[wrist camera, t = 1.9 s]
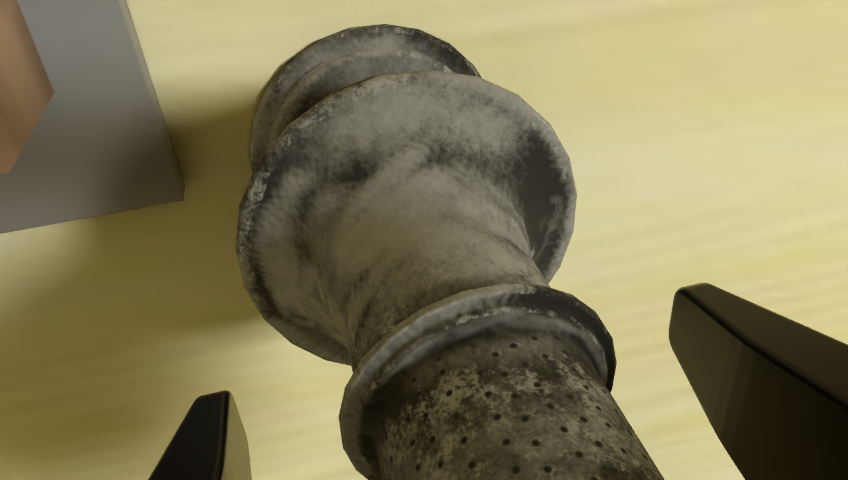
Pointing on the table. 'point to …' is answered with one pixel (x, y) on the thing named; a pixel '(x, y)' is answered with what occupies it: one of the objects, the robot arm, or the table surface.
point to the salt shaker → (430, 265)
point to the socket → (78, 115)
